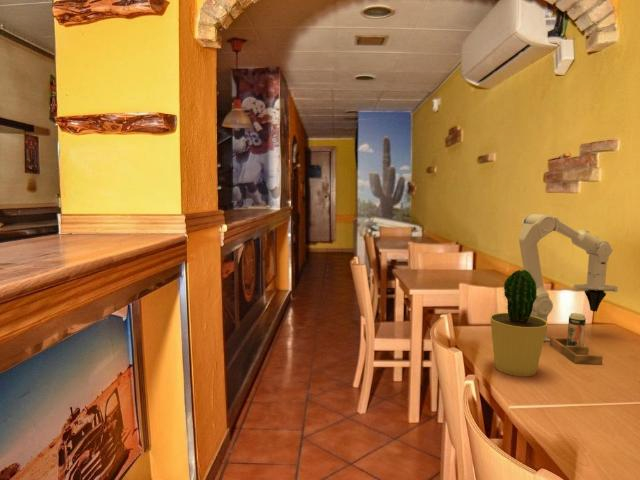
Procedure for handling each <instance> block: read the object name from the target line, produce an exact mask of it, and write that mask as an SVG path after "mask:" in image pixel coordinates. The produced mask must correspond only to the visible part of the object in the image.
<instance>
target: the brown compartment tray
mask: <svg viewBox="0 0 640 480" xmlns="http://www.w3.org/2000/svg"><path fill="white" fill-rule="evenodd" d="M549 339H550V341H549V346H550V347H551V348H553V349H555V350H556V352H557V351H558V352H559V353H560V354H561V355H562V356H564V357H565V358H566V359H568V360H569V361H570V362H572V363H573V364H575V365H578V364H579V365H603V359H604V356H602V355H599V354H597V355H595V354H589V347H588V346H585V345H584V346H567V338H564V337H562V338H561V337H550V338H549Z"/></svg>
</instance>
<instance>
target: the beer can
mask: <svg viewBox="0 0 640 480" xmlns="http://www.w3.org/2000/svg"><path fill="white" fill-rule="evenodd" d="M586 319H587V318H586V317H585V315H584V314H582V313H576V312H575V313H574V312H573V313H572V312H571V313H570V315H569V316H568V325H567V346H585V345H584V344H585V335H586V333H585V332H586V322H587V321H586Z"/></svg>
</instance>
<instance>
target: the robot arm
mask: <svg viewBox="0 0 640 480" xmlns="http://www.w3.org/2000/svg"><path fill="white" fill-rule="evenodd" d="M521 227H522V228H521V231H520V234H519V238H518V243H519V248H520V254H521V262H522V266H523V267H522V269H523V270H526V271H528V272H529V273H530V274H531V276H532V278H533V279H535V280H536V281H537V280H538V281H537V282H535V283H536V286H537V287H539V288H536V289H537V291H536V292H537V293H538V294H536V295H537V296H538V297H537V298H536V300H535V301H534V302H535V303H534V304H533V308H532V313H533V314H532V313H531V316H535V317H538V318H541V319H543V320H545V321H547V322H548V316H549V314H551V312H552V311H553V308H554V304H553V301H552V300H551V298H550V294H549V292H548V291H547V290H546V289H545V286H544V282H543V274H542V268H541V261H540V255H539V249H538V243H539V242H540V240H542V239H543V238H544V237H546V236H547V235H549V234H550V233H552V232H557V233H559V234H561V235H563V236H565V237H567V238H569V239H570V241H571V243H572V245H574V246H576V247H578V248H580V249H582V250H583V251H585V252H586V254H587V255H588V261H587V262H588V264H587V273H586V284H585V283H584V284H573V291H575V292H584V294H585V296H586V298H587V301H588V303H589V305H588V306H589V309H590V311H591V312H598V310H599V308H600V307H599V306H600V305H601V303H602V301H603V299H604V298H605V297H606V295H607V292H614V293H618V289H619V287H618V286H616V285H611V284H610V285H608V284H606V278H607V265H608V261H609V260H610V259H609V258H610V256H611V255H612V253H613V251H614V250H613V248H612V245H611V244H610V242H609V241H606V240H601V239H600V237H599V236H594V235H592V234H590V231H589V230H587V229H578V230H577V229H575V228H573V227H572V226H570V225H569V224H567V223H565V222H564V221H561V220H560V219H559V218H558V217H555V216H552V215H550V214H541V213H539V214H538V213H534V212H533V213H528V214H527V215H526V216H525V217H524V218H523V219H522V220H521ZM535 280H534V281H535ZM535 309H536V310H535ZM544 342H550V338H549V337H548V336H547V332H546V333H545V338H544Z"/></svg>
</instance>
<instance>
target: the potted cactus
mask: <svg viewBox="0 0 640 480" xmlns="http://www.w3.org/2000/svg"><path fill="white" fill-rule="evenodd" d="M507 274H508V273H507ZM534 280H535V279H533V278H532V276H531V274H530V273H529V272H528V271H526V270H524V269H523V268H520V269H517V270H513V272H512V273H511V274H508V276H507V278H506V279H504V278H503V280H502V281H503V284H504V285H503V289H502V291H504V292H503V297H504V299H505V303H506V304H507V305H506V307H505V309H507V312H497V313H493V314H491V315H490V316H489V318H490V328H491V329H490V330H491V340H492V349H493V361H494V368H495V369H496V370H498V371H499V372H501V373H504V374H506V375H510V376H515V377H531V376H534V375H537V374H536V373H537V370H538V367H539V363H540V360H541V359H540V358H541V355H542V349H543V345H544V342H545V341H544V338H545V333H546V334H547V330H548V328H547V327H548V325H549V323H548V320H547V321H545V320H543V319H541V318H538V317H535V316H531V313H532V308H533V304H534V303H535V302H534V301H535V300H536V298H537V297H538V296H537V295H536V294H538V293H537V292H536V291H537V289H536V288H539V287H537V286H536V283H535V282H537V281H538V280H537V281H536V280H535V281H534ZM535 310H536V309H535ZM532 314H533V313H532Z"/></svg>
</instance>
